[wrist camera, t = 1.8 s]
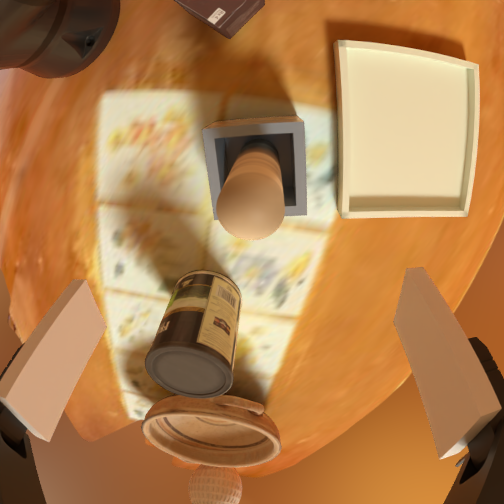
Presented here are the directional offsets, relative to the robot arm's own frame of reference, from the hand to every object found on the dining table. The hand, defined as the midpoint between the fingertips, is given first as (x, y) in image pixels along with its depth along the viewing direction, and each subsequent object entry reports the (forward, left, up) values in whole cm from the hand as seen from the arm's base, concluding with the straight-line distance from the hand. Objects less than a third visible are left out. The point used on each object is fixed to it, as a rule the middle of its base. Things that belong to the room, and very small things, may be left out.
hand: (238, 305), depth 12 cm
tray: (-3, +18, -25) cm, 31 cm away
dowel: (0, 0, -24) cm, 24 cm away
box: (-18, -2, -25) cm, 31 cm away
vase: (+89, -19, -25) cm, 94 cm away
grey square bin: (0, 0, -25) cm, 25 cm away
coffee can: (+20, -9, -25) cm, 33 cm away
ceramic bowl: (+51, -13, -25) cm, 58 cm away
